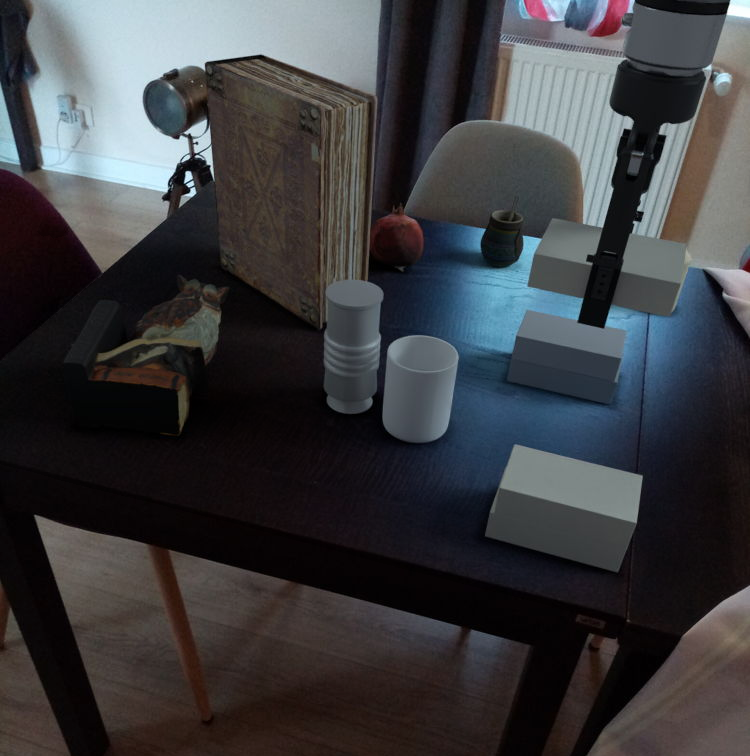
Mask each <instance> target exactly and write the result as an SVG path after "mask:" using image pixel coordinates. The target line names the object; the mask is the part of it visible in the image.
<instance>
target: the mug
mask: <svg viewBox="0 0 750 756" xmlns="http://www.w3.org/2000/svg"><path fill="white" fill-rule="evenodd" d="M459 358H460V357H459V353H458V351H457V349H456V348H455V346H453V345H452V344H450V343H449V342H447V341H445V340H443V339H441V338H438V337H434V336H429V335H421V334H420V335H419V334H417V335H415V334H414V335H407V336H402V337H399V338H396V340H393V342H391V343H390V344H389V345H388V348H387V352H386V364H385V378H384V389H383V402H382V416H381V417H382V424H383V427H384V428H385V430H386V431H387V433H389V434H390V435H391V436H393V437H394V438H396V439H398V440H400V441H403V442H405V443H410V444H426V443H430V442H434V441H436V440H438V439H439V438H441V437H443V435H445V433H446V432H447V430H448V428H449V423H450V419H451V412H452V407H453V398H454V391H455V383H456V379H457V373H458V367H459V366H458V365H459Z"/></svg>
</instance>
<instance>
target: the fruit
mask: <svg viewBox="0 0 750 756" xmlns="http://www.w3.org/2000/svg"><path fill="white" fill-rule="evenodd" d="M391 211H392V212H391V213H390V214H388V215H386V216H383V217H380V218H379V219H377V220H376V221H375V222H373V223H374V224H373V225H372V226H371V227H370V243H369V253H370V254H371V255H372V256H373V258H374V259H375V260H376V261H379V262H381V263H383V264H385V265H387V266H390V267H393V268H395V269H397V270H399V271H401V272H402V273H405V270H406V269H407V268H409V267H411V266H414V265H415V264H416V263H418V261H420V259H421V258H422V255H423V252H424V235H423V230H422V228H421V226H420V224H419V222H418V221H417V220H416V219H414V218H412V217H409V216H408V215H406V214H405V212H404V208H403V206H402V202H400V203H399V205H398V207H397V209H395V204H393V205H392V210H391Z"/></svg>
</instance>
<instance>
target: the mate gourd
mask: <svg viewBox="0 0 750 756" xmlns="http://www.w3.org/2000/svg"><path fill="white" fill-rule="evenodd" d="M519 199H520V197H518V196H514V200H513V203H512V207H511V210H505V209H499V210H495V211H493V212H491V214H489V219H488V221H489V222H488V224H487V226H486V228H485V230H484V232H483V234H482V236H481V238H480V245H479V246H480V251H481V252H480V253H481V256H482V258H483V259H484V261H486V263H487V264H489V265H491V266H494V267H497V268H507V267H510V266H512V265H514V264H515V263H517V262H518V261H519V260H520V257H521V256H522V253H523V250H524V234H523V226H524V219H525V218H524V217H523V216H522V214H520V213H518V212H515V210H516V208H517V204H518V202H519Z"/></svg>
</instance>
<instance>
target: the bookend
mask: <svg viewBox="0 0 750 756" xmlns="http://www.w3.org/2000/svg"><path fill="white" fill-rule="evenodd" d="M176 284H177V287H178V290H179V293H178V294H177V295H176V296H175V297H174V298H173V299H172V300H167V301H164V302H161V303H160V304H158V305H155V306H153V307H151V309H150V310H149V311H148V312H146V313H145V314H144V315H143V316H142V318H141V319H140V320H138V322H136V324H135V327H134V328H133V333H132V335H131V336H130V340H129V338H128V335H127V329H126V325H125V321H124V320H125V319H124V316H123V315H124V314H123V311H122V307H121V305H120V303H119V302H118V301H116V300H107V299H105V300H104V299H101V300H99V301H98V302H97V303H96V304H95V306H94V307H93V309H92V311H91V313H90V314H89V316H88V318H87V321H85V324H84V327H83V329H82V330H81V332H80V334H79V335H78V336H77V338H76V340H75V342H74V343H73V345H72V346H71V348H70V349H69V351H68V353H67V355H66V356H65V358H64V360H63V362H62V365H61V369H62V373H63V377H64V381H65V385H66V389H67V391H68V397H69V401H70V404H71V409H72V411H73V415H74V418H75V422H76V426H77V427H78V428H96V429H98V428H100V427H101V426H102V427H103V426H104V427H111V428H116V429H117V428H118V429H126V430H133V431H140V432H149V433H156V434H161V435H167V436H174V437H177V436H180V435H181V434H182V430H183V427H184V425H185V423H187V422H188V419H189V415H190V414H189V411H190V398H195V399H200V400H201V399H202V400H203V399H204V400H209V399H210V397H211V390H210V385H209V383H210V382H209V375H208V369H207V368H208V367H209V366H210V365H211V363H212V361H213V359H214V357H215V356H216V353H217V349H218V345H217V343H218V341H219V334H220V327H219V325H220V323H221V320H222V319H221V317H222V310H221V305H222V304H223V303H225V302H226V300H227V298H228V295H229V291H230V287H229V286H221V287H216V286H215V285H214V284H212V283H209V284H206V283H204V282H200V281H199V280H198V279H196V278H193V279H190V280H188V279H186V277H184V276H183V275H182V274H177V277H176Z"/></svg>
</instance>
